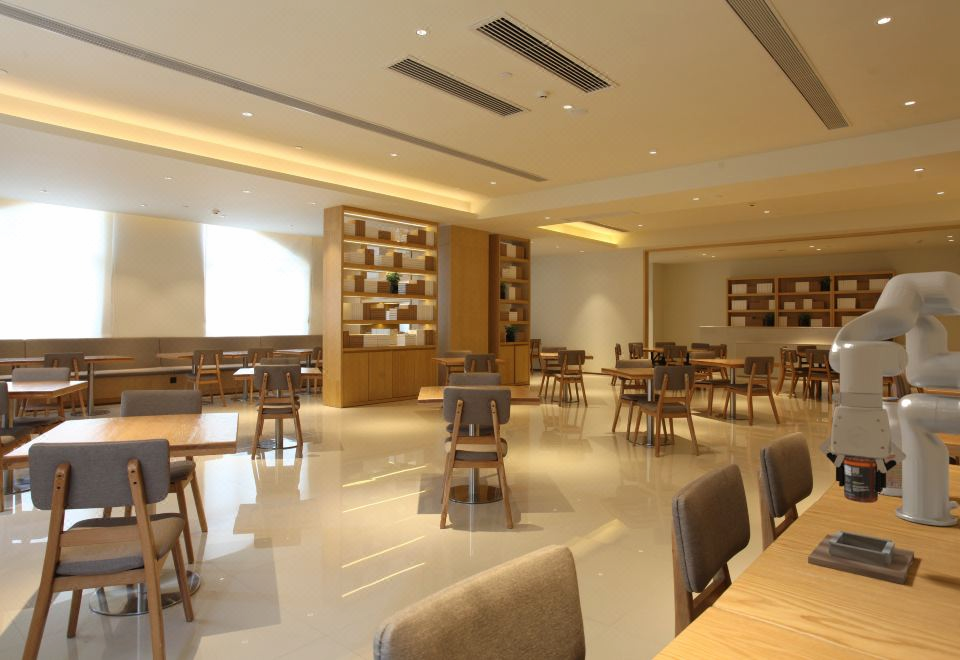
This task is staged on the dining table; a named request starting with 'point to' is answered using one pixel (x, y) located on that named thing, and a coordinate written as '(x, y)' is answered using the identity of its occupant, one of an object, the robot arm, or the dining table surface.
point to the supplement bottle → (860, 479)
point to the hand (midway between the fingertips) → (860, 487)
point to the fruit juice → (896, 437)
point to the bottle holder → (863, 556)
